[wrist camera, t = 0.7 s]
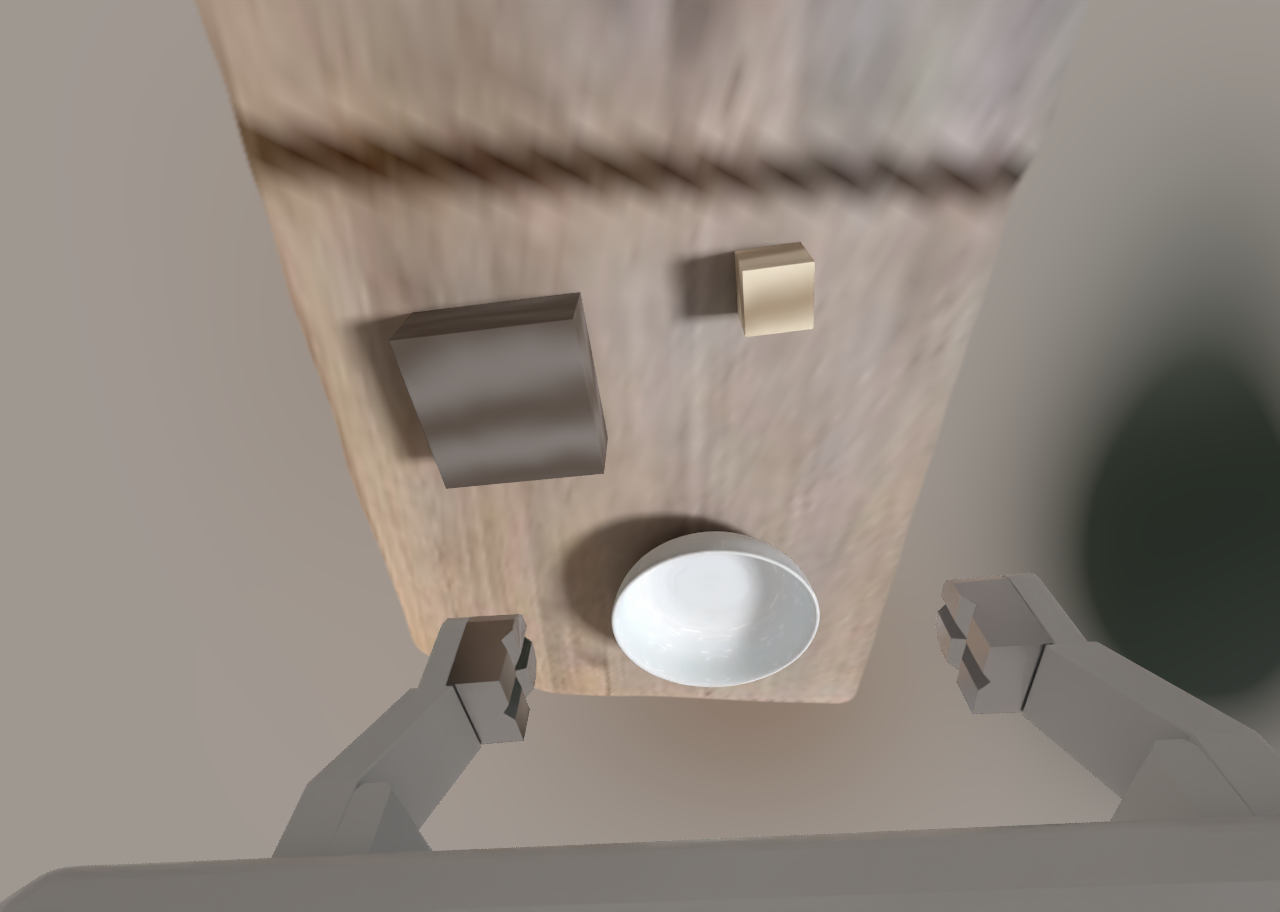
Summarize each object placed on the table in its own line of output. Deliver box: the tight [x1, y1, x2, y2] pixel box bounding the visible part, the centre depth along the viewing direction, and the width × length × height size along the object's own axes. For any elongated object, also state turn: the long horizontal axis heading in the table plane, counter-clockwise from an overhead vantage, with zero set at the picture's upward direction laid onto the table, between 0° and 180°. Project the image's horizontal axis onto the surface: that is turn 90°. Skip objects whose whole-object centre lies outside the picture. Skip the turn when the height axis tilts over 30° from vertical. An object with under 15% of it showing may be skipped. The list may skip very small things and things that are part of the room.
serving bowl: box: [611, 531, 819, 687], centre depth 64 cm, size 21×21×7 cm
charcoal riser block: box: [389, 292, 608, 489], centre depth 51 cm, size 14×14×6 cm
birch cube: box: [735, 242, 815, 337], centre depth 46 cm, size 5×5×5 cm
